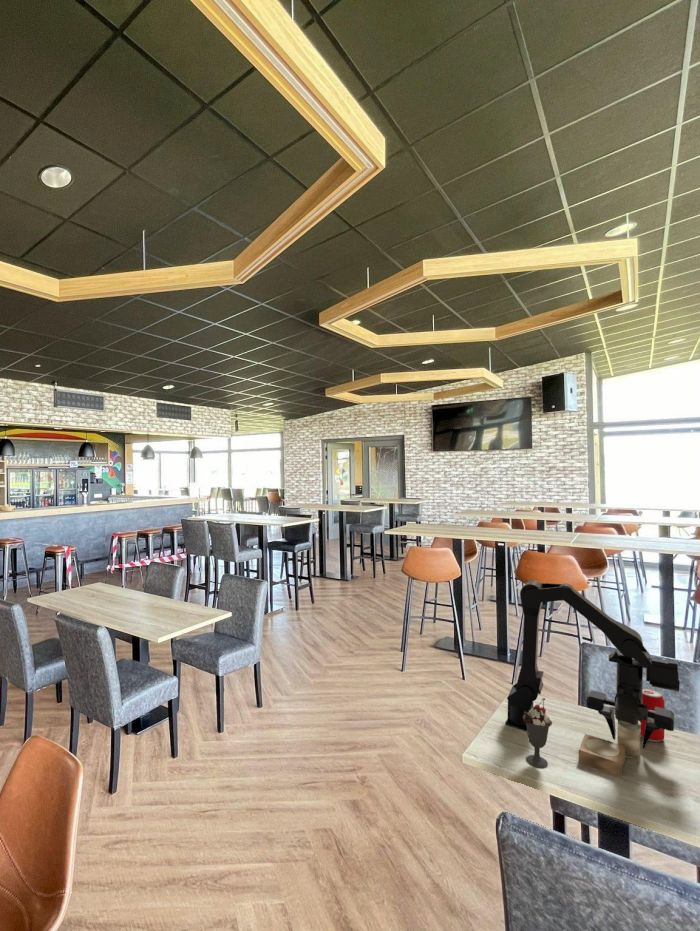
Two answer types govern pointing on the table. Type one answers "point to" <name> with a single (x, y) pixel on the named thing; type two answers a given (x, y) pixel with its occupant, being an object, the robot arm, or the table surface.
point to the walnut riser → (602, 754)
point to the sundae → (537, 733)
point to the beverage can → (652, 700)
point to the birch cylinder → (630, 738)
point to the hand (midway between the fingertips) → (628, 743)
